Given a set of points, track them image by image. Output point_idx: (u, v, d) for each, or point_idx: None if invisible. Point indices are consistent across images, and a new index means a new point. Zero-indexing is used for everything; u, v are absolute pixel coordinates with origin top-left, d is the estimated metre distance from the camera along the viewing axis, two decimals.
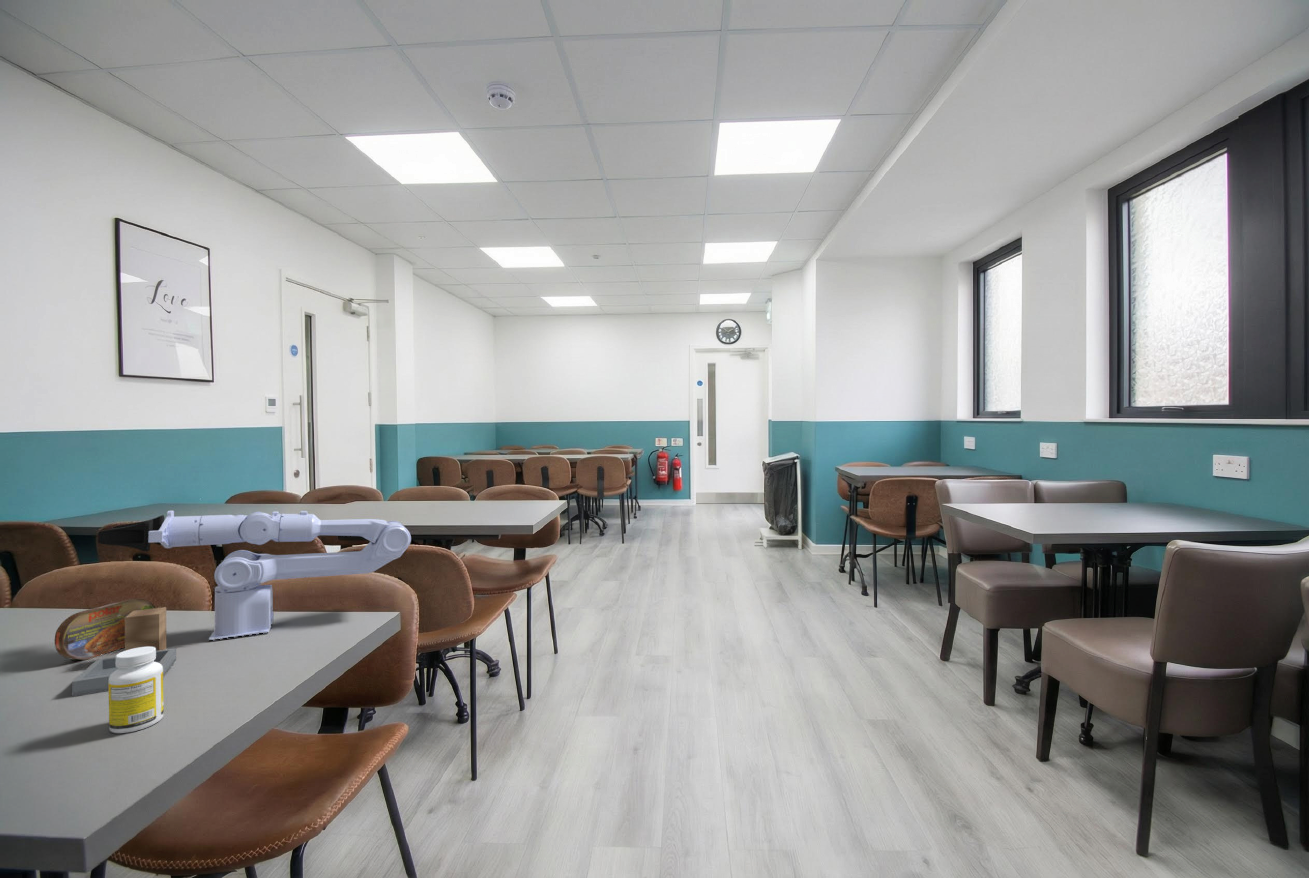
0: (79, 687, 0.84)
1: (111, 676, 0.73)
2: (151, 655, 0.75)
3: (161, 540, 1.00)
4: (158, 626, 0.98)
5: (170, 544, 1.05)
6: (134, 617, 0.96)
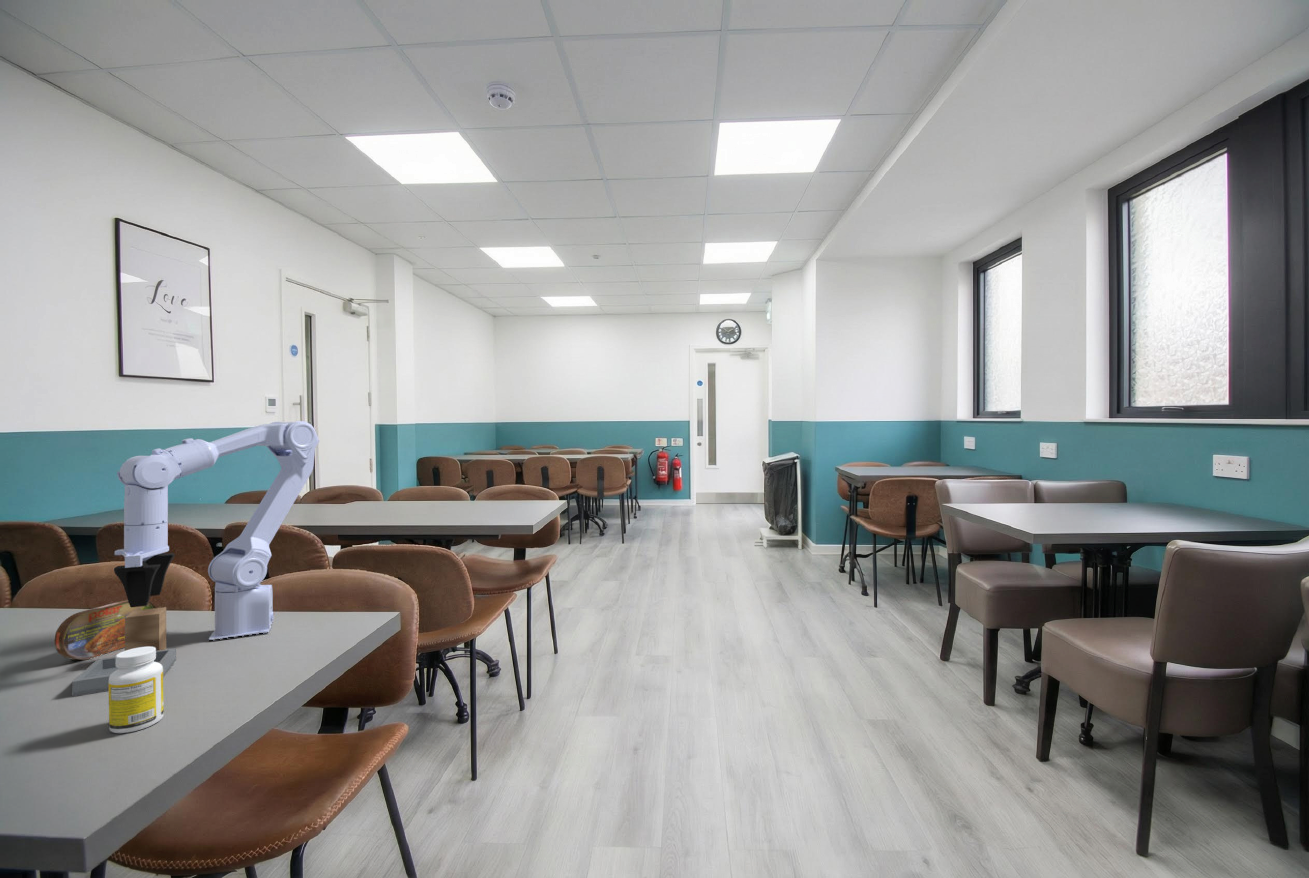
0: (79, 687, 0.84)
1: (111, 676, 0.73)
2: (151, 655, 0.75)
3: (138, 555, 0.93)
4: (158, 626, 0.98)
5: (159, 547, 0.98)
6: (134, 617, 0.96)
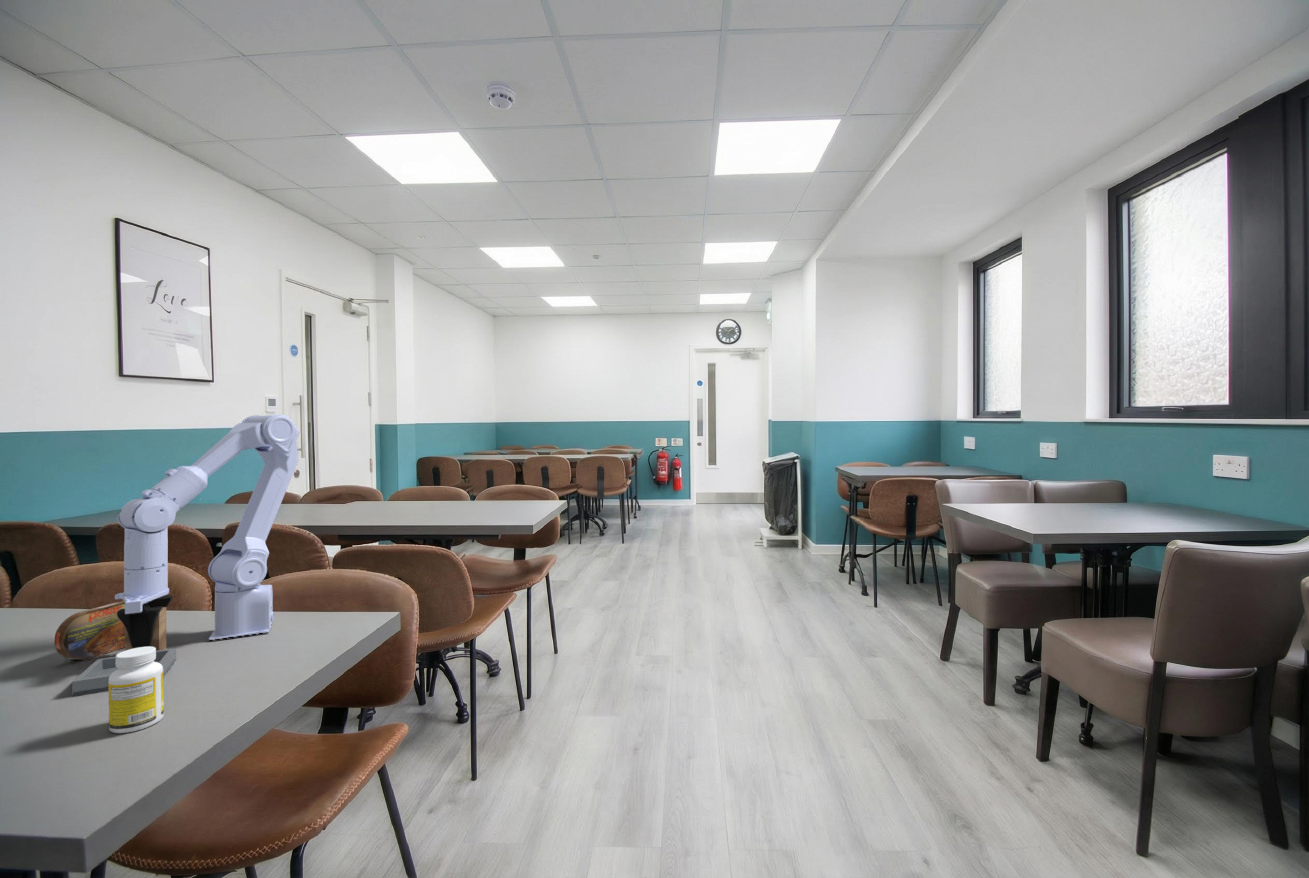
0: (79, 687, 0.84)
1: (111, 676, 0.73)
2: (151, 655, 0.75)
3: (138, 601, 0.93)
4: (158, 626, 0.98)
5: (159, 591, 0.98)
6: None
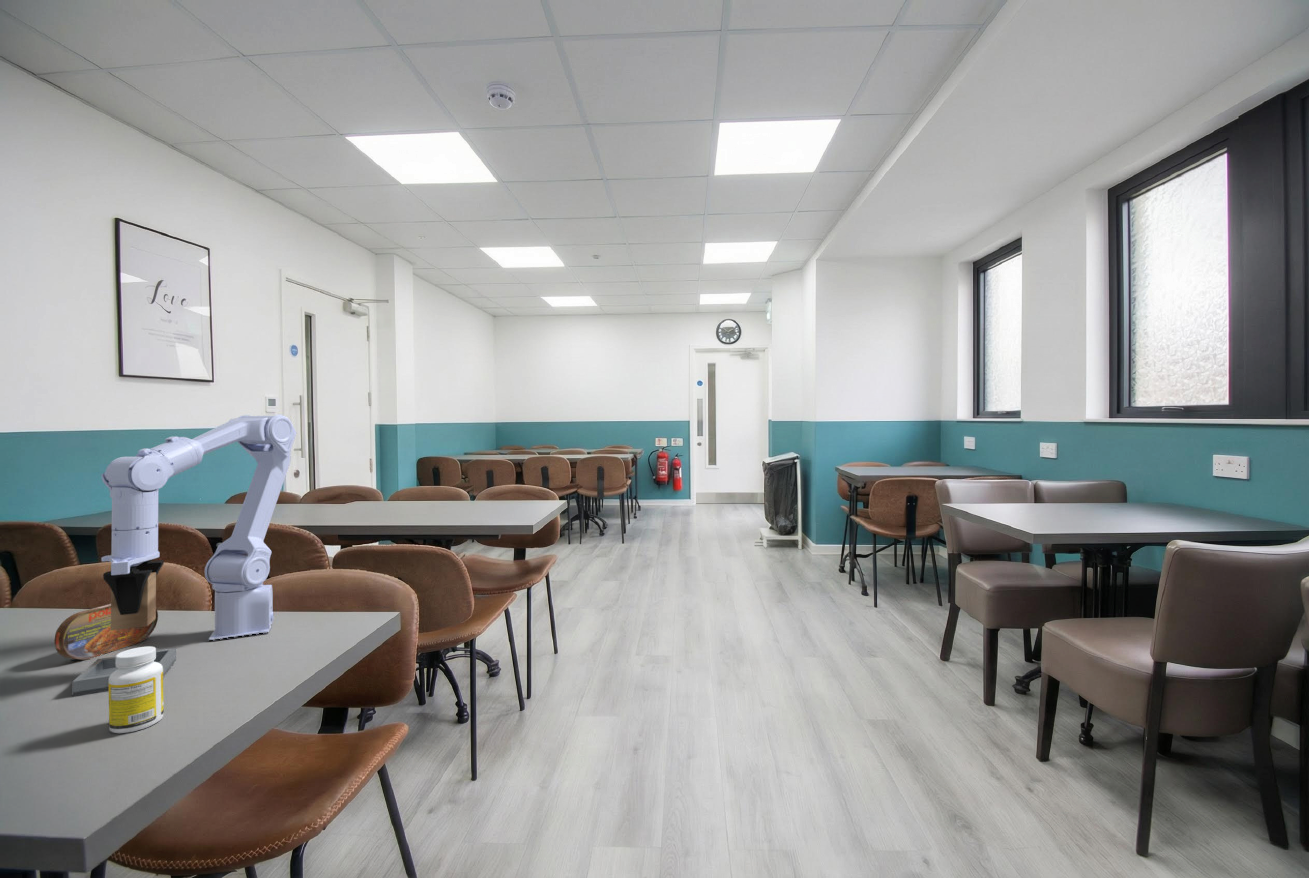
0: (79, 687, 0.84)
1: (111, 676, 0.73)
2: (151, 655, 0.75)
3: (125, 562, 0.87)
4: (146, 591, 0.92)
5: (148, 553, 0.93)
6: None
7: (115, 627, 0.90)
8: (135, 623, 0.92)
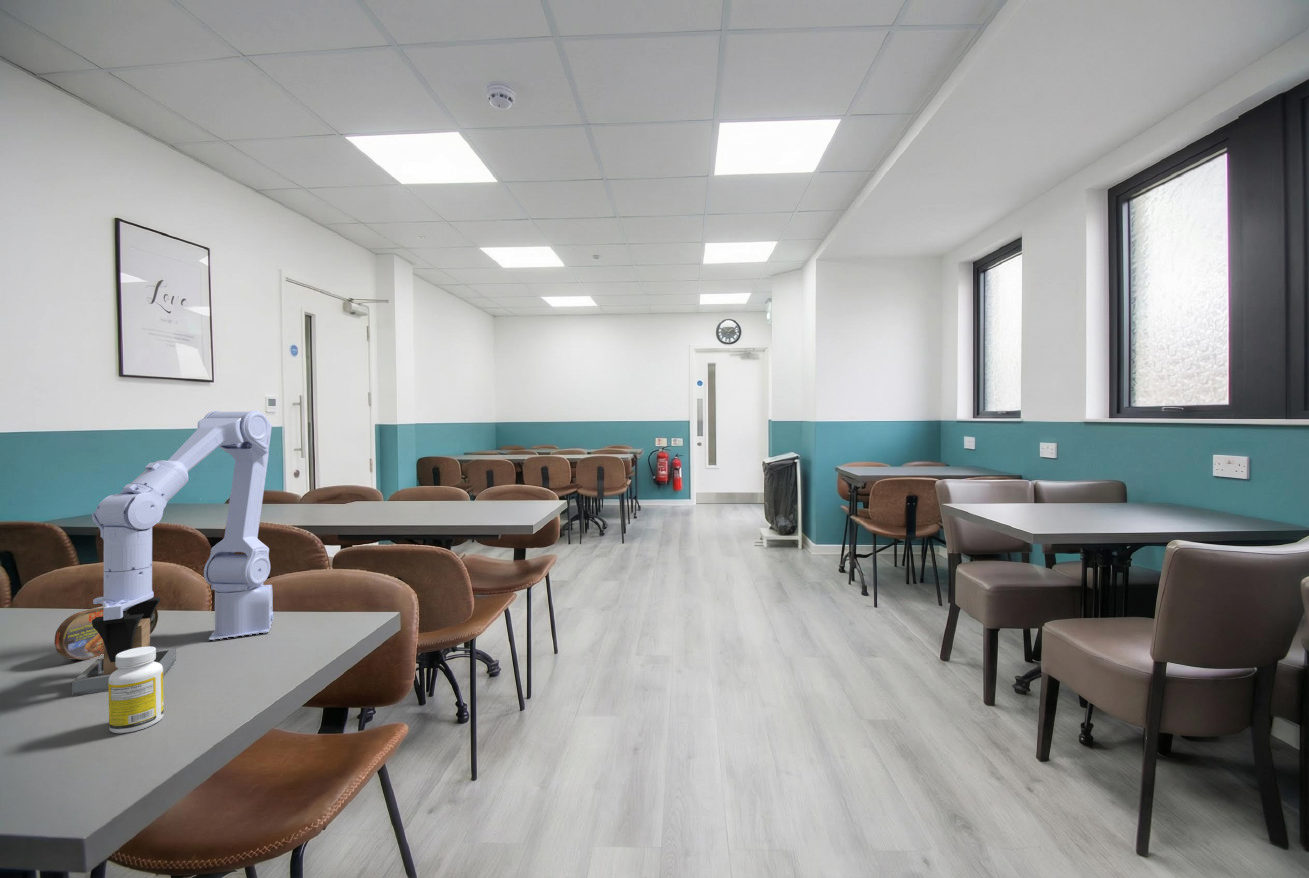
0: (79, 687, 0.84)
1: (111, 676, 0.73)
2: (151, 655, 0.75)
3: (118, 606, 0.84)
4: (140, 639, 0.89)
5: (142, 595, 0.90)
6: None
7: None
8: None
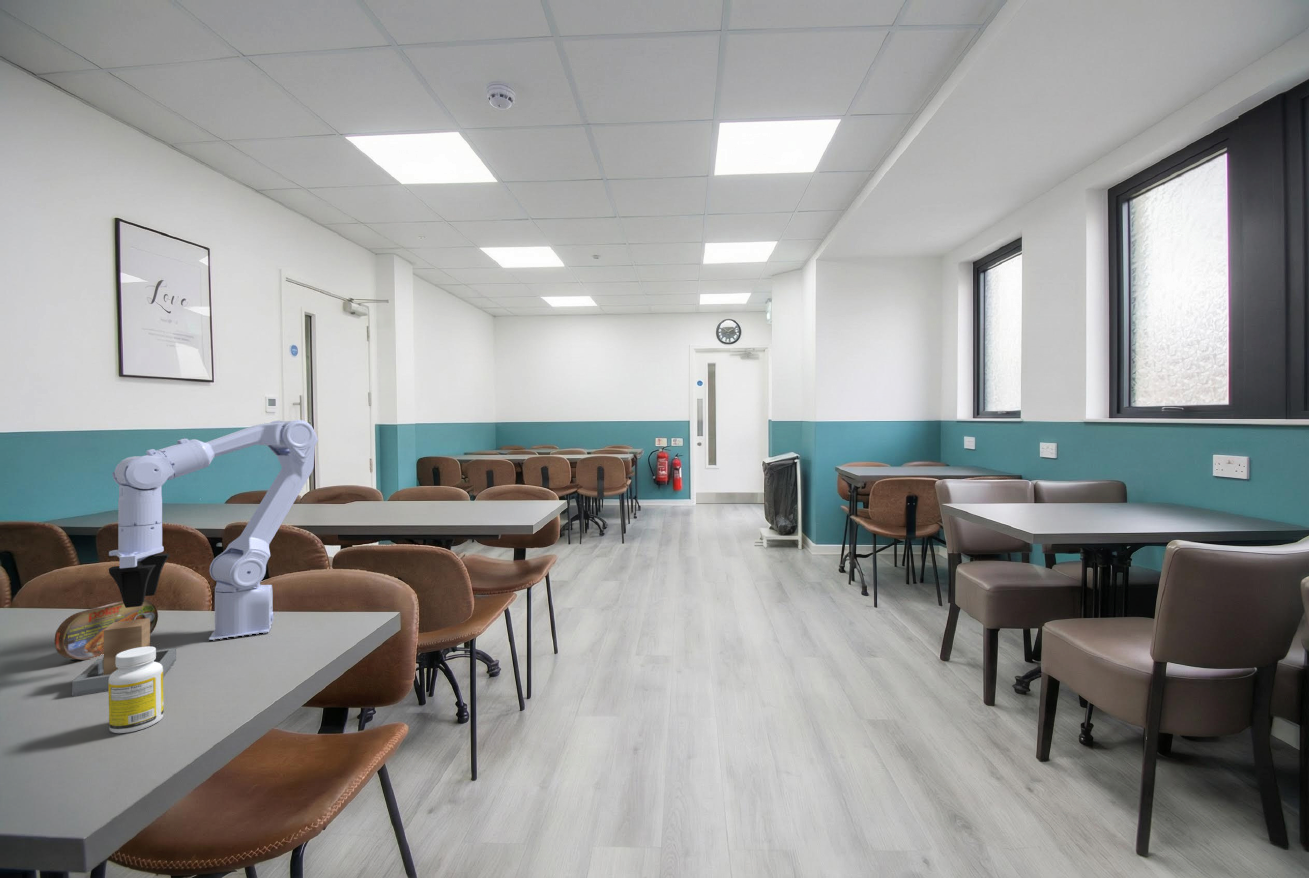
0: (79, 687, 0.84)
1: (111, 676, 0.73)
2: (151, 655, 0.75)
3: (133, 556, 0.93)
4: (140, 639, 0.89)
5: (154, 548, 0.98)
6: (114, 630, 0.88)
7: None
8: None
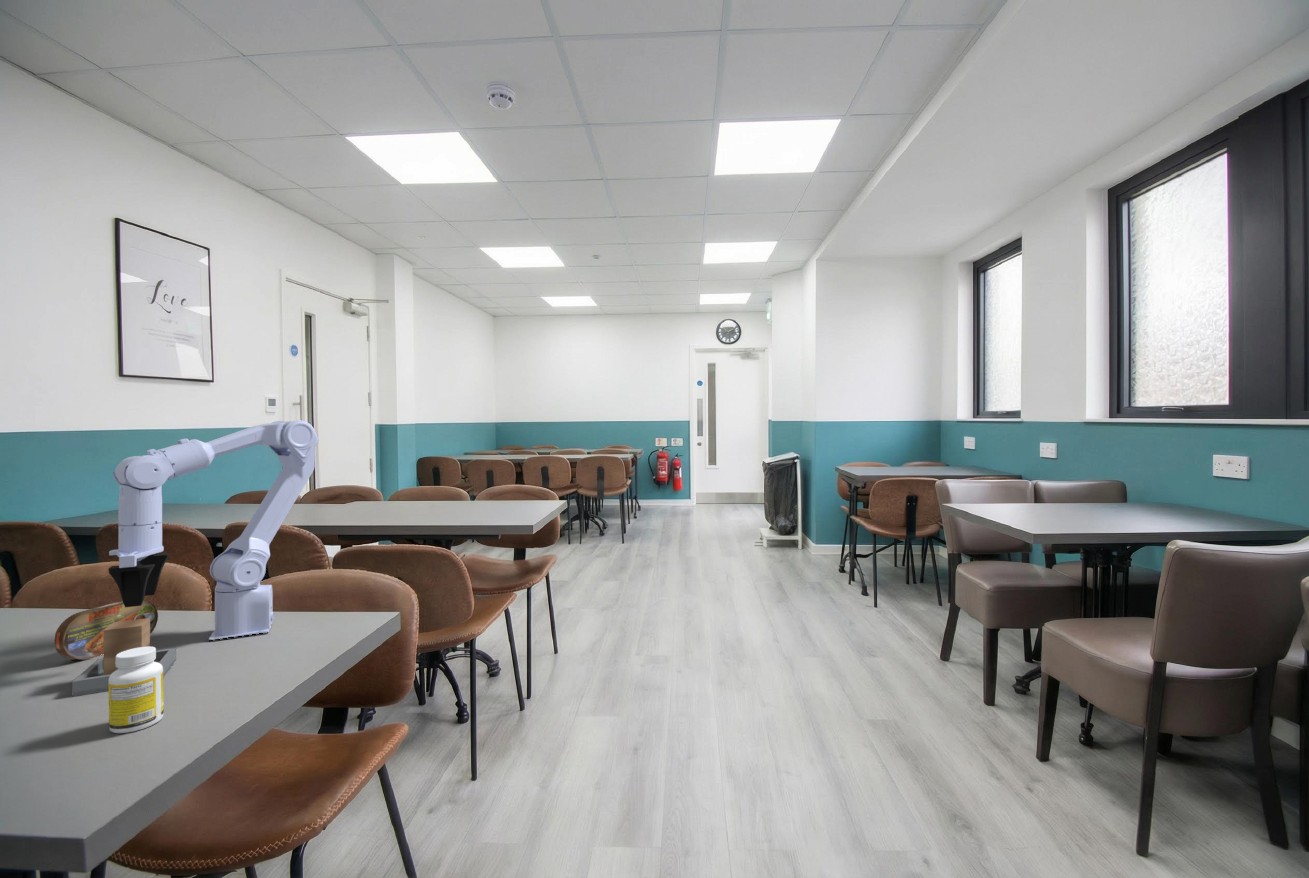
0: (79, 687, 0.84)
1: (111, 676, 0.73)
2: (151, 655, 0.75)
3: (132, 556, 0.93)
4: (140, 639, 0.89)
5: (153, 548, 0.98)
6: (114, 630, 0.88)
7: None
8: None
